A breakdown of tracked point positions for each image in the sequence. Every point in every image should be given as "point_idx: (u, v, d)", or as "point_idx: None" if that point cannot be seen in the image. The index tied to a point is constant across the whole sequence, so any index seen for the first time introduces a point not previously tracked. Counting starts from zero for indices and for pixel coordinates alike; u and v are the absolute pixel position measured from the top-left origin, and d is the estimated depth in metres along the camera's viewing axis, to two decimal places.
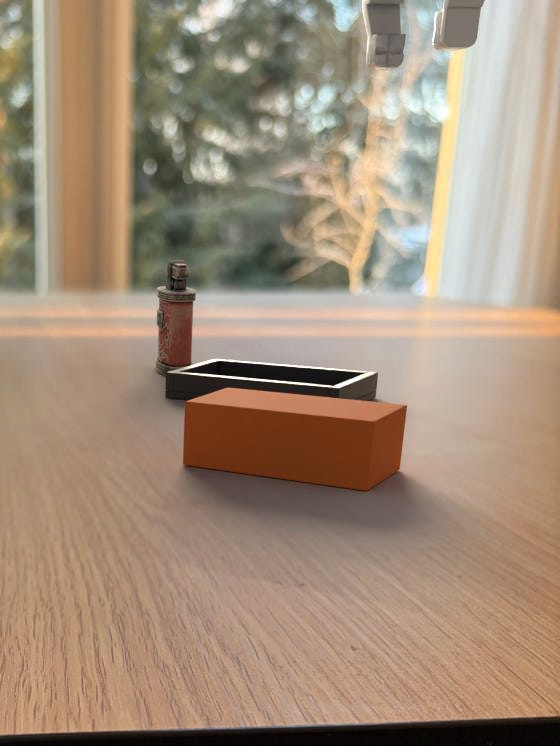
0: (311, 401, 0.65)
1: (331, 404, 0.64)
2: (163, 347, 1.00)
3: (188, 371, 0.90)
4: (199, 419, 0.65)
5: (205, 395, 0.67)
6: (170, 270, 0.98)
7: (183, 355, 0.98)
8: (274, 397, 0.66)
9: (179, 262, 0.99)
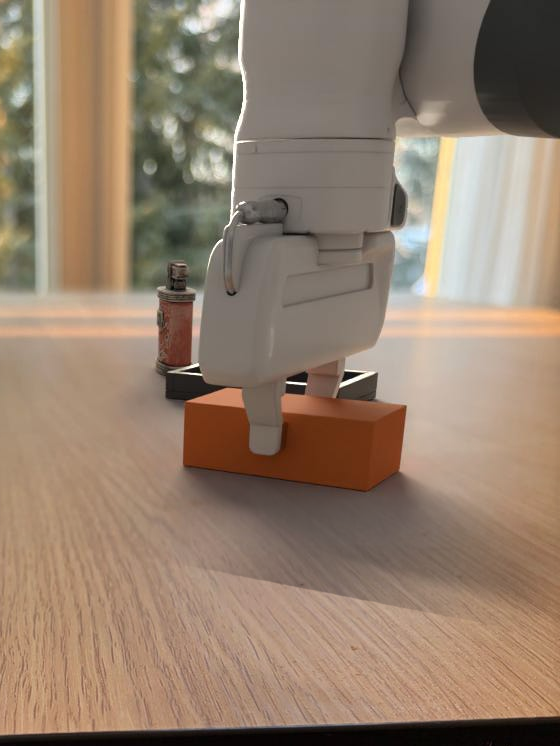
0: (311, 401, 0.65)
1: (331, 404, 0.64)
2: (163, 347, 1.00)
3: (188, 371, 0.90)
4: (199, 419, 0.65)
5: (205, 395, 0.67)
6: (170, 270, 0.98)
7: (183, 355, 0.98)
8: None
9: (179, 262, 0.99)
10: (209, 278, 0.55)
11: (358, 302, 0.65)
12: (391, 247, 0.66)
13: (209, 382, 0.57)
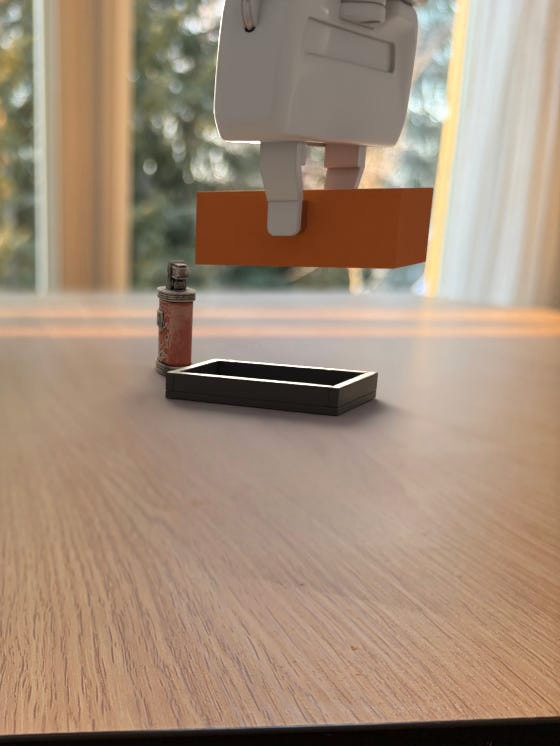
0: None
1: None
2: (163, 347, 1.00)
3: (188, 371, 0.90)
4: (212, 210, 0.61)
5: None
6: (170, 270, 0.98)
7: (183, 355, 0.98)
8: None
9: (179, 262, 0.99)
10: (225, 16, 0.51)
11: (380, 83, 0.61)
12: (414, 26, 0.62)
13: (226, 138, 0.53)
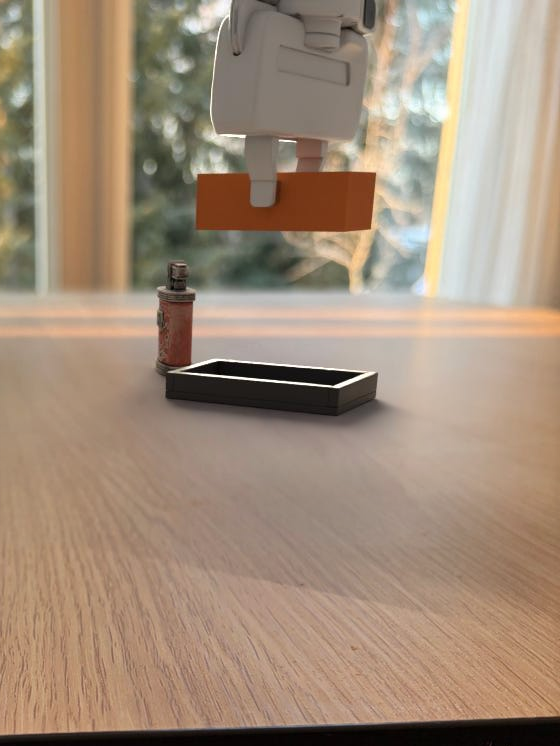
0: None
1: None
2: (163, 347, 1.00)
3: (188, 371, 0.90)
4: (209, 188, 0.80)
5: None
6: (170, 270, 0.98)
7: (183, 355, 0.98)
8: None
9: (179, 262, 0.99)
10: (219, 44, 0.70)
11: (338, 93, 0.80)
12: (364, 50, 0.81)
13: (219, 132, 0.72)
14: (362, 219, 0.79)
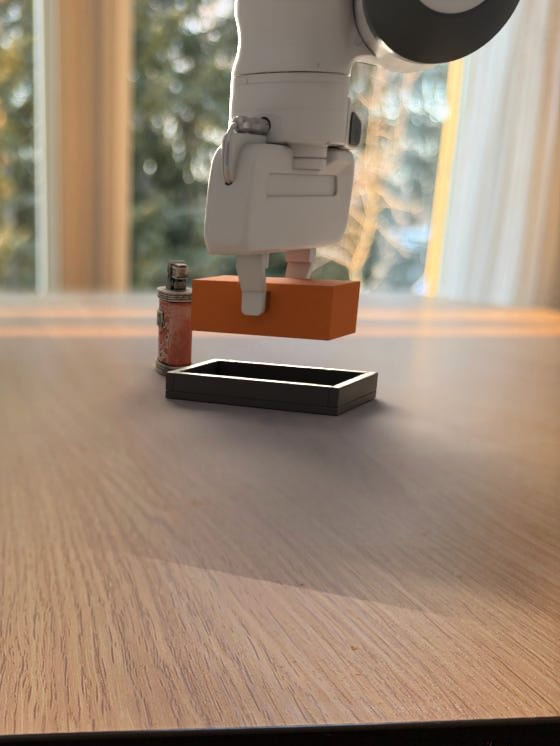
0: (288, 279, 0.85)
1: (303, 280, 0.84)
2: (163, 347, 1.00)
3: (188, 371, 0.90)
4: (203, 293, 0.85)
5: None
6: (170, 270, 0.98)
7: (183, 355, 0.98)
8: None
9: (179, 262, 0.99)
10: (212, 173, 0.75)
11: (325, 205, 0.85)
12: (350, 163, 0.86)
13: (212, 252, 0.77)
14: (347, 325, 0.84)
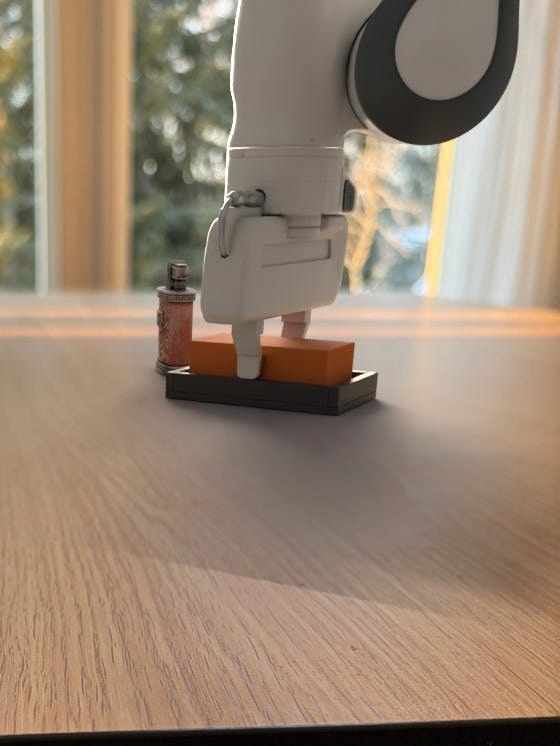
0: (284, 340, 0.87)
1: (299, 342, 0.86)
2: (163, 347, 1.00)
3: (188, 371, 0.90)
4: (201, 354, 0.87)
5: (205, 337, 0.89)
6: (170, 270, 0.98)
7: (183, 355, 0.98)
8: None
9: (179, 262, 0.99)
10: (208, 245, 0.77)
11: (319, 268, 0.87)
12: (344, 227, 0.88)
13: (208, 321, 0.79)
14: None
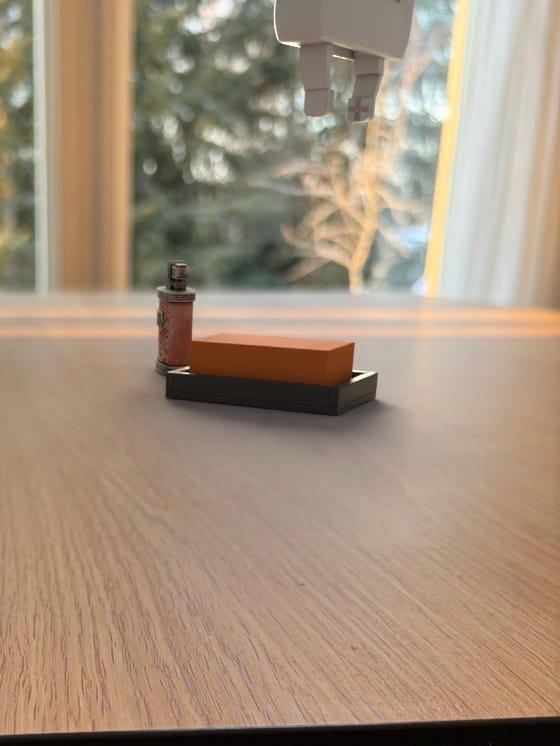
0: (284, 340, 0.87)
1: (299, 342, 0.86)
2: (163, 347, 1.00)
3: (188, 371, 0.90)
4: (201, 354, 0.87)
5: (205, 337, 0.89)
6: (170, 270, 0.98)
7: (183, 355, 0.98)
8: (257, 338, 0.88)
9: (179, 262, 0.99)
10: None
11: (390, 9, 0.83)
12: None
13: (282, 39, 0.75)
14: None
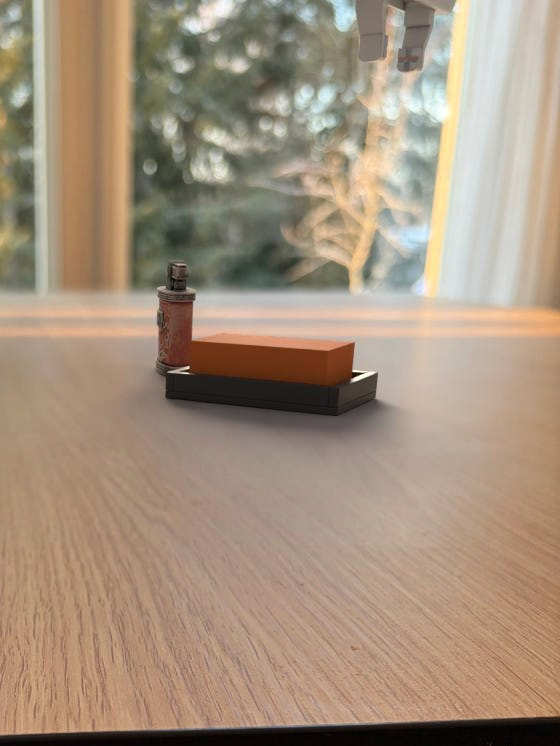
0: (284, 340, 0.87)
1: (299, 342, 0.86)
2: (163, 347, 1.00)
3: (188, 371, 0.90)
4: (201, 354, 0.87)
5: (205, 337, 0.89)
6: (170, 270, 0.98)
7: (183, 355, 0.98)
8: (257, 338, 0.88)
9: (179, 262, 0.99)
10: None
11: None
12: None
13: None
14: None
